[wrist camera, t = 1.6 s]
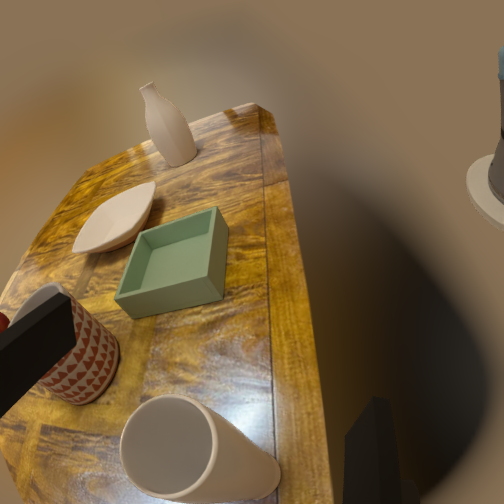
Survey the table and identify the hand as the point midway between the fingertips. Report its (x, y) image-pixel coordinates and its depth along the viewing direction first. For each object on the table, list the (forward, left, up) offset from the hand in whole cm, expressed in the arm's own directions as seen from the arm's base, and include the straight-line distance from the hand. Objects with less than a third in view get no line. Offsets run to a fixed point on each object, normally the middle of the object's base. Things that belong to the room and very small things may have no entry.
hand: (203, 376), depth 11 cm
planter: (+32, -13, -20) cm, 40 cm away
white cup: (+5, +2, -20) cm, 20 cm away
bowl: (+36, -48, -20) cm, 63 cm away
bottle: (+26, -78, -20) cm, 85 cm away
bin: (+17, -29, -19) cm, 39 cm away
